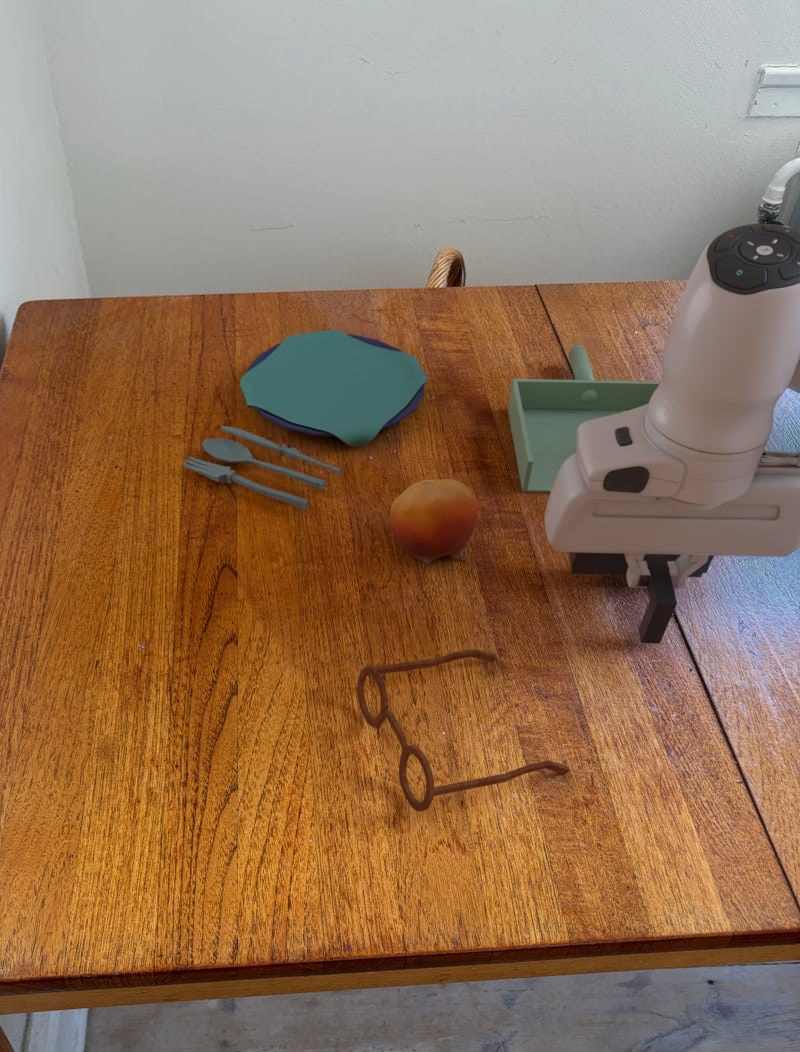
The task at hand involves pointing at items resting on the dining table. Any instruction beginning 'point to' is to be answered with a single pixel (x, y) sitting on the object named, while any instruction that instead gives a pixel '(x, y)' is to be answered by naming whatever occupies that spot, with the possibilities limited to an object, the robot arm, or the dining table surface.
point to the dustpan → (563, 416)
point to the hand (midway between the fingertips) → (653, 583)
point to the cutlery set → (319, 400)
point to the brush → (657, 586)
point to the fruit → (434, 518)
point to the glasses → (417, 752)
